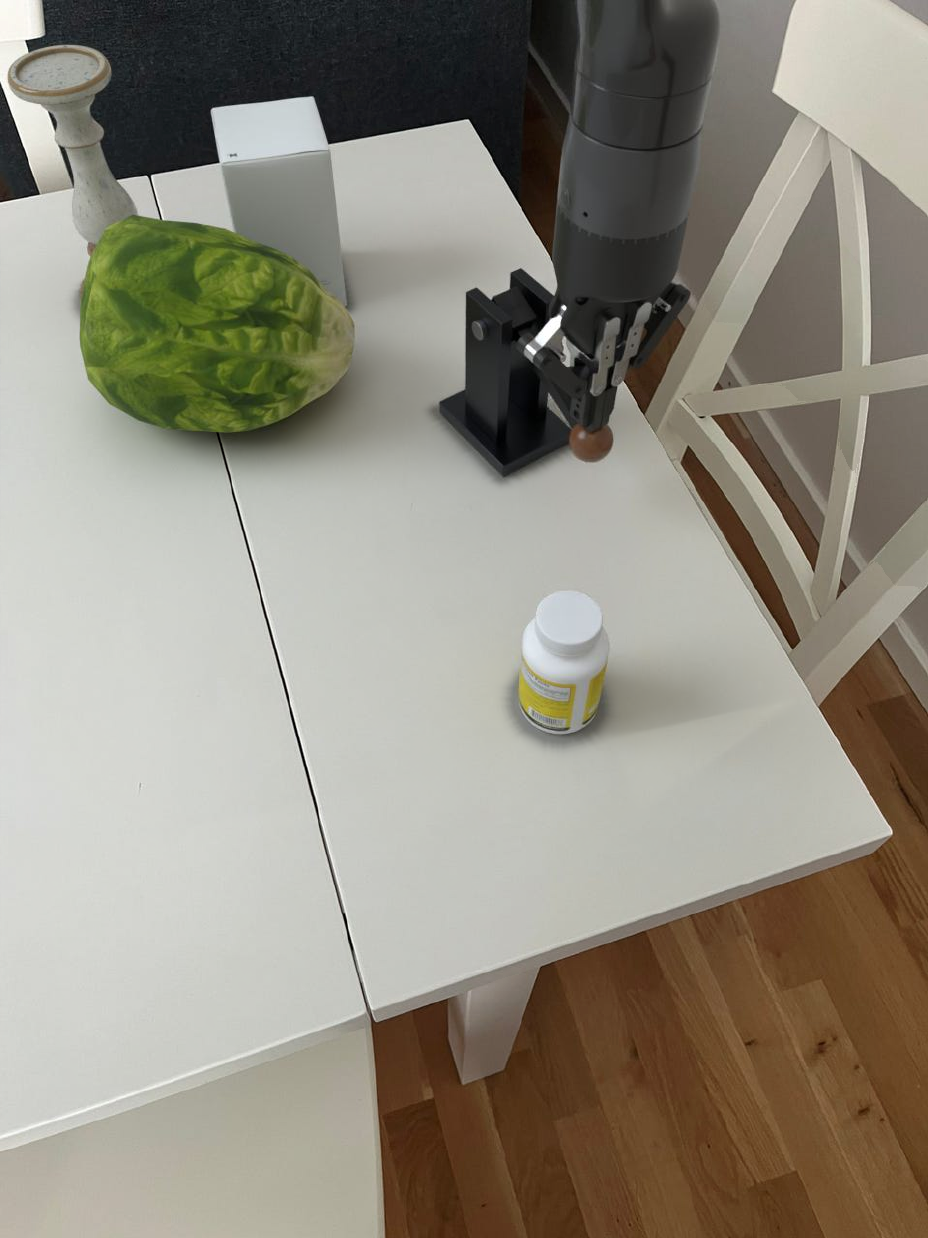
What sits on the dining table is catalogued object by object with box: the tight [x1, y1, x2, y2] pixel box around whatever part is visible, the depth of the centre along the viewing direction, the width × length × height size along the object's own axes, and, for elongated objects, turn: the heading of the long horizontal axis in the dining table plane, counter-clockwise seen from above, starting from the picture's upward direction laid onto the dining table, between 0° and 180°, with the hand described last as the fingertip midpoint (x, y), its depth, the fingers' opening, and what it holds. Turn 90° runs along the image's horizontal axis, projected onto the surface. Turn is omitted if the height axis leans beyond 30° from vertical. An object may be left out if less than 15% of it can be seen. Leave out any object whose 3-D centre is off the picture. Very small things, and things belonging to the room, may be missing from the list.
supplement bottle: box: [518, 589, 610, 735], centre depth 62 cm, size 5×5×10 cm
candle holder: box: [7, 44, 139, 301], centre depth 83 cm, size 9×9×20 cm
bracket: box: [438, 267, 572, 477], centre depth 76 cm, size 9×7×13 cm
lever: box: [490, 286, 614, 464], centre depth 72 cm, size 14×3×3 cm, turn 35°
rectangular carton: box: [210, 96, 348, 308], centre depth 86 cm, size 9×9×15 cm
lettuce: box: [79, 215, 356, 434], centre depth 77 cm, size 16×21×15 cm
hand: (590, 421), depth 70 cm, fingers closed
